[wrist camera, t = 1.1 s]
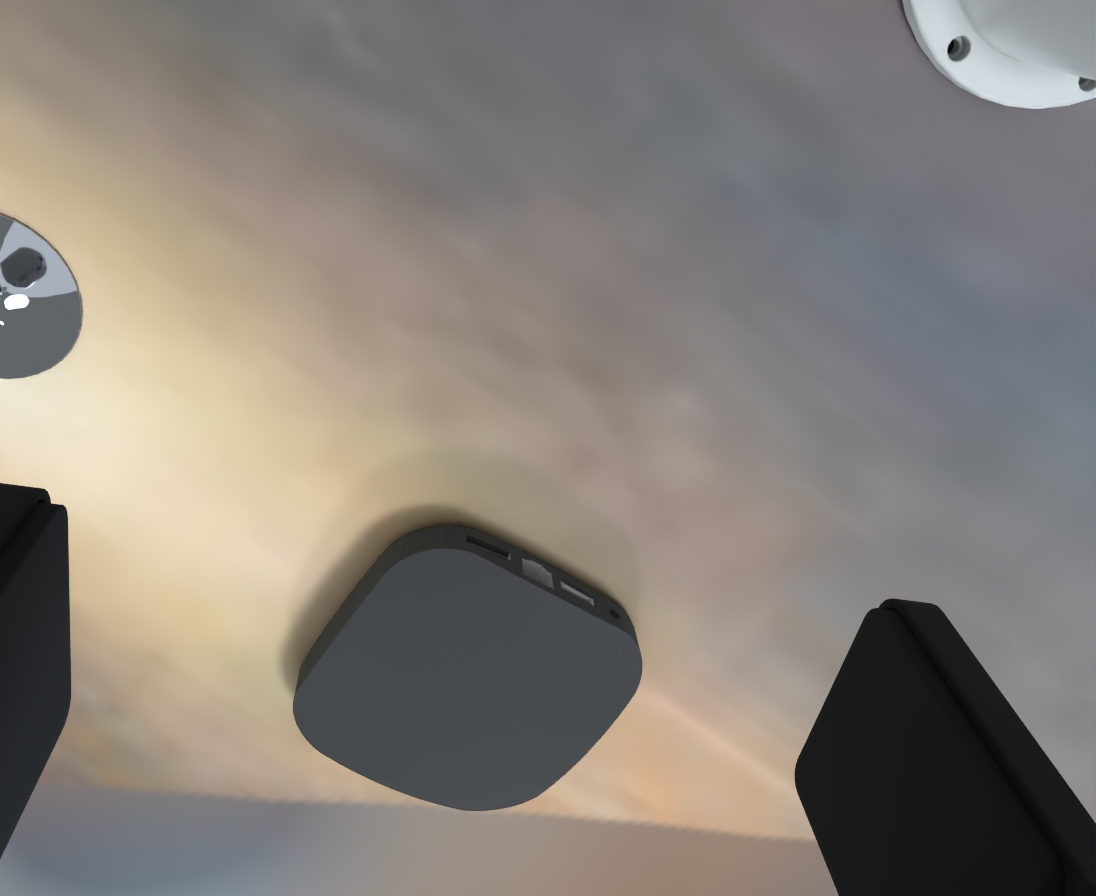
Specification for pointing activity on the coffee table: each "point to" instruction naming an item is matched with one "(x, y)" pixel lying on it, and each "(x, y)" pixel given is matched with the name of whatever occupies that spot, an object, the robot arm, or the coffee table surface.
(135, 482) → the coffee table surface
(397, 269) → the coffee table surface
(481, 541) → the media streaming box
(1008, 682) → the coffee table surface
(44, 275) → the wine glass
